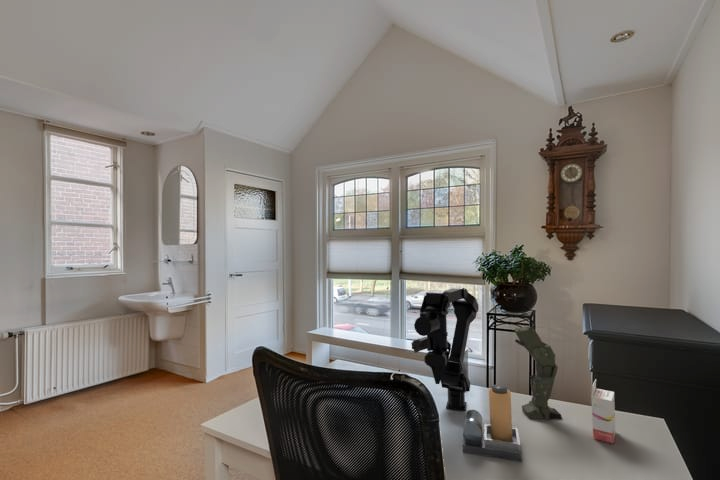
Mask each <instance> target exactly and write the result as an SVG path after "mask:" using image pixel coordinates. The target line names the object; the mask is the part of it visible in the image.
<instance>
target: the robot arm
mask: <svg viewBox="0 0 720 480" xmlns="http://www.w3.org/2000/svg"><path fill="white" fill-rule="evenodd" d="M451 306H452V307H453V312H454V315H455V318H456V322H455V326H454V327H455V328H454V333H453V338H452V343H450V342H449V341H448V336H449V334H448V333H449V332H448V329H447V328H448V327H447V325H448V323H447V315H448V314H449V311H448V309H449V308H450V307H451ZM479 307H480V306H479V303H478V301H477V298H476V297H475V296H474V295H472V294H471V293H469V291H468V289H467V288H465V287H458V286H457V287H452V288H448V289H446V290H443V291H438V290H427V292H426V293H425V294H424V296H423V299H422V303H421V306H420V310H419V317H417V318H416V319H415V321H414V324H413V326H414V331H416V334H418V335H419V336H422V337H421V338H417V339H414V340H413V341H412V342H410V343H411V350H413V353H414V354H415V353H416V354H417V353H419V352H421V351H424V350H426V351H428V352H426V354H425V355H424V364H426V366H428V367H429V368H430V369H431V372H432V375H433V378H434V383H435V384H436V385H440V384H441V388H442V389H444V388H445V389H447V402H446V406H445V409H448V410H455V411H464V412H465V411H467V404H468V403H467V401H465V400H466V399H465V396H466V395H465V393H467V392H470V389H471V381H470V379H469V377H468V376H467V369H466V366H465V364H464V358H465V354H466V353H465V352H466V349H467V343H468V342H467V341H468V337H469V331H470V326H471V323H472V322H473V321H475V319H476V317H477V313H478V312H479Z"/></svg>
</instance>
